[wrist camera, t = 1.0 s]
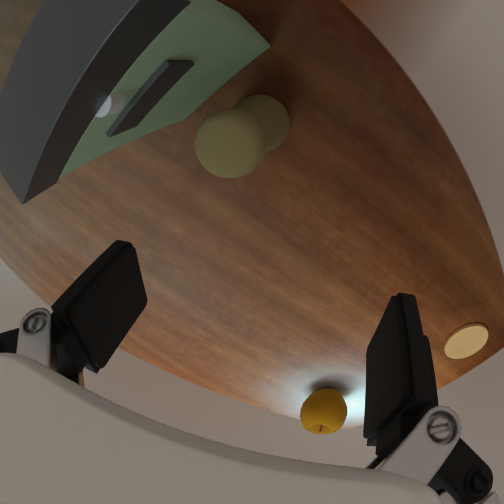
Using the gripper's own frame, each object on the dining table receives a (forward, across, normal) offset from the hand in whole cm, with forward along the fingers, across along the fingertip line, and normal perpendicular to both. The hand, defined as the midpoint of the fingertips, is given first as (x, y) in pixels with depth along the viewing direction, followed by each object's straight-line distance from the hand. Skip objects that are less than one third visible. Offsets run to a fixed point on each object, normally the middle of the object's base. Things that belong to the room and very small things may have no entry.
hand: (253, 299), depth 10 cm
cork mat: (+22, -30, +23) cm, 44 cm away
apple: (+22, -10, +42) cm, 49 cm away
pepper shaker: (+22, +5, -2) cm, 23 cm away
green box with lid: (+22, +10, -8) cm, 25 cm away
